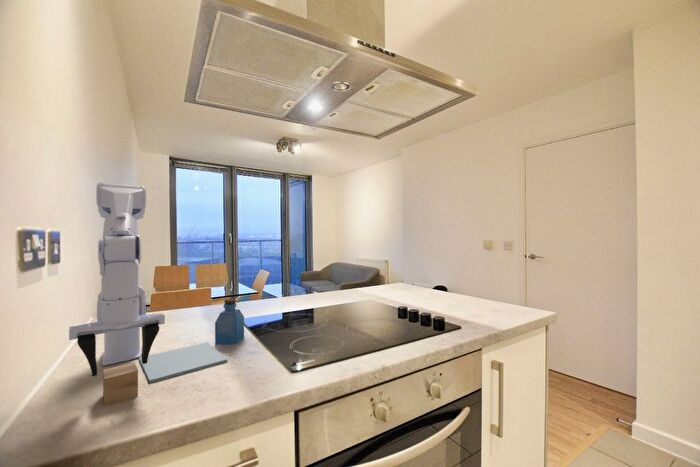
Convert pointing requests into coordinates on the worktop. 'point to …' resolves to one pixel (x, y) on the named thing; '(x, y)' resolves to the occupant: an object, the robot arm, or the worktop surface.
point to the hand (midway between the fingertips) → (120, 367)
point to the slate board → (181, 361)
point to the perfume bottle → (229, 324)
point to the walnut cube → (120, 383)
